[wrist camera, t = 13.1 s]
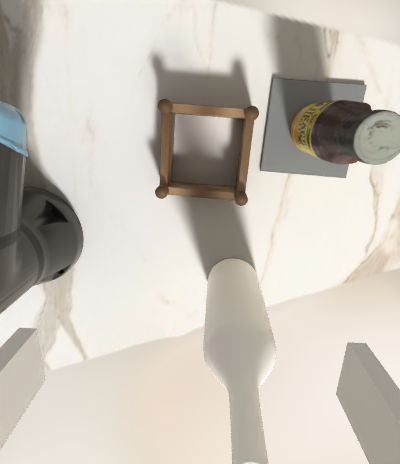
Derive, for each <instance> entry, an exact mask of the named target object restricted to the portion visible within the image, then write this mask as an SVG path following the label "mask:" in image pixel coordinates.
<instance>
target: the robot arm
mask: <svg viewBox="0 0 400 464" xmlns="http://www.w3.org/2000/svg"><path fill="white" fill-rule="evenodd" d="M26 136H27V124H26V120H25V118H24V116H23V114H22V113H21V112H20V111H19V110H18V109H17V108H16V107H14V106H12V105H10V104H8V103H5V102H2V101H0V314H1V313H2V312H3V311H4V310H6V309H7V308H8V307H9V306H10V305H11V304H12V303H14V302H15V301H16V300H17V299H18V298H19V297H21V296H22V295H23V294H24V293H25V292H27V291H28V290H29V289H30V288H31V287H32V286H35V285H38V284H42V283H45V282H48V281H52V280H54V279H57V278H59V277H60V276H62V275H64V274H65V273H66V272H67V271H68V270H69V269H71V268H72V267H73V266H74V265H75V263H76V262H77V261H78V259H79V257H80V255H81V252H82V248H83V232H82V228H81V225H80V222H79V220H78V218H77V216H76V215H75V213H74V212H73V210H72V209H71V208H70V207H69V206H68V205H67V204H66V203H65V202H64V201H63V200H62V199H60V198H59V197H58V196H56V195H54V194H52V193H50V192H48V191H45V190H42V189H38V188H31V187H25V188H24V176H25V163H26V157H28V151H27V150H26ZM44 381H45V375H44V369H43V363H42V356H41V350H40V344H39V338H38V332H37V329H33V328H19V329H18V330H17V331H16V332H15V333H14V334H13V335H12V336H11V337H10V338H9V339H8V340H7V341H6V342H5V344H4V345H3V346H2V347H1V348H0V450H1V448H2V446H3V445H4V443H5V442H6V440H7V439H8V437H9V435H10V434H11V432H12V431H13V429H14V428H15V426H16V425H17V423H18V422H19V420H20V419H21V417H22V415H23V414H24V412H25V411H26V409H27V408H28V406H29V404H30V403H31V401H32V400H33V398H34V397H35V395H36V394H37V392H38V391H39V389H40V388H41V386H42V384H43V383H44ZM336 394H337V396H338V399H339V401H340V403H341V405H342V407H343V409H344V411H345V413H346V415H347V417H348V420H349V422H350V424H351V426H352V428H353V430H354V432H355V434H356V436H357V439H358V441H359V442H360V445H361V447H362V449H363V451H364V453H365V455H366V457H367V459H368V462H369V464H400V390H399V388H398V387H397V385H396V384H395V383H394V381H393V380H392V379H391V377H390V376H389V374H388V373H387V372H386V370H385V369H384V367H383V366H382V365H381V363H380V362H379V361H378V359H377V358H376V357H375V355H374V354H373V352H372V351H371V350H370V348H369V347H368V345H367V344H366V343H347V348H346V352H345V356H344V361H343V365H342V370H341V375H340V379H339V383H338V388H337V393H336Z"/></svg>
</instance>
